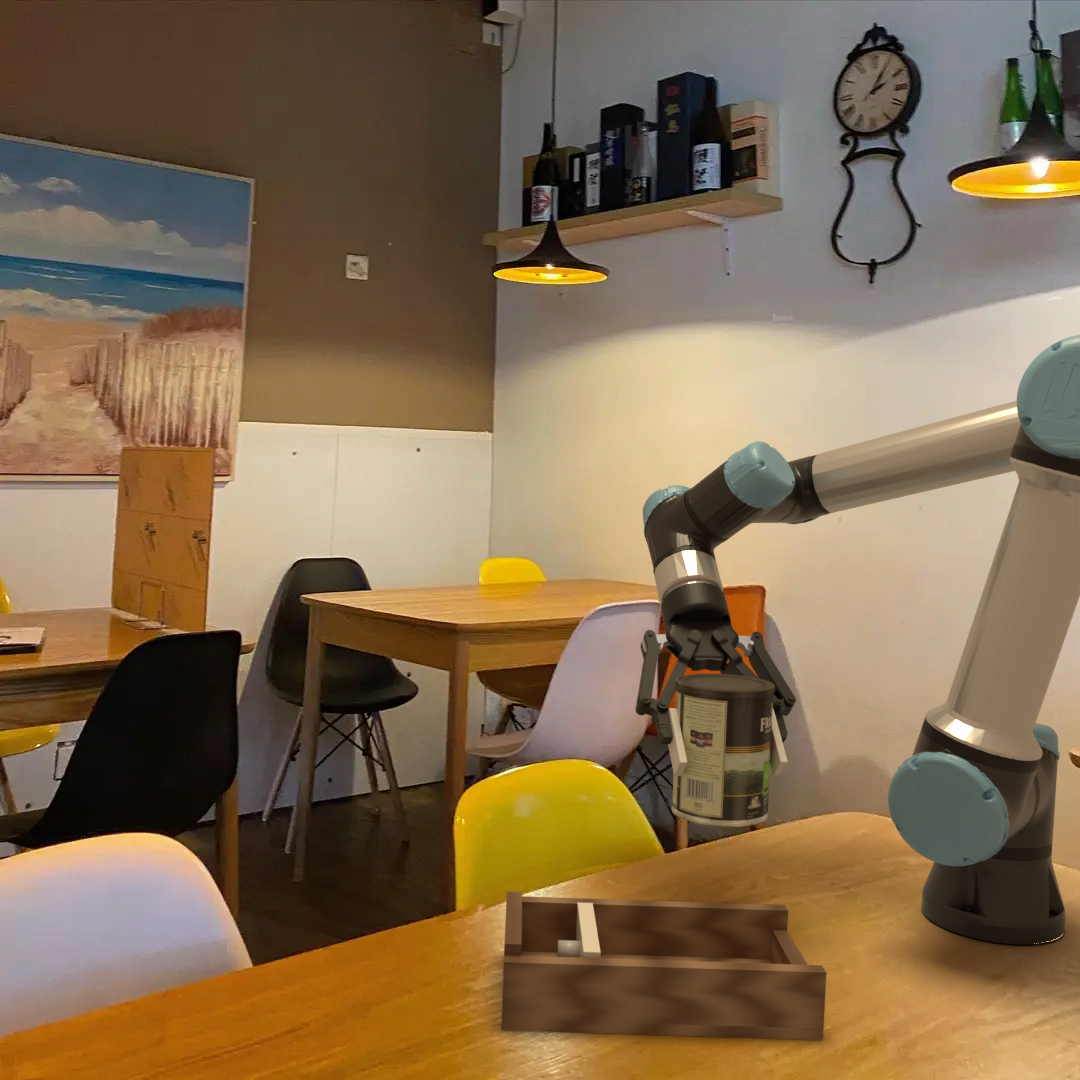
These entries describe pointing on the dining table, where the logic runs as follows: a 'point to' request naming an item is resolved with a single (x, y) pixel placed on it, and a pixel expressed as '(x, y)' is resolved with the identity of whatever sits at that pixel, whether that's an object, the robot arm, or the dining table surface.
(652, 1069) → the dining table surface
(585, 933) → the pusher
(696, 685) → the coffee can
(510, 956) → the wooden tray
